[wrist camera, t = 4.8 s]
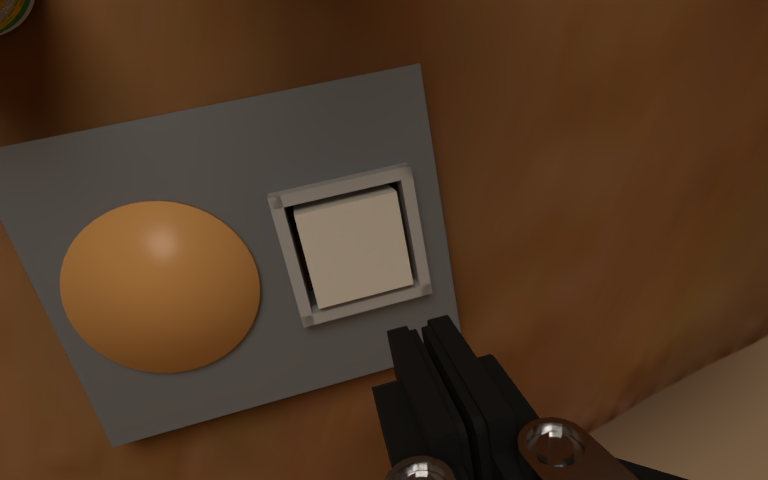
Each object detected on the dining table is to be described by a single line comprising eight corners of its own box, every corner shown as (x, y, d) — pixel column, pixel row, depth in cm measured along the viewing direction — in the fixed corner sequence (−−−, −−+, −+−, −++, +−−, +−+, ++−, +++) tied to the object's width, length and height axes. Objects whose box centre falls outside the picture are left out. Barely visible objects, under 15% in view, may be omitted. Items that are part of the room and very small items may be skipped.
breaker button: (384, 181, 25) (396, 191, 22) (400, 265, 27) (413, 284, 24) (292, 202, 24) (293, 215, 22) (315, 287, 26) (318, 309, 23)
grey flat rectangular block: (409, 65, 24) (426, 62, 21) (451, 331, 29) (469, 356, 27) (-5, 148, 22) (-48, 156, 19) (124, 422, 27) (105, 461, 24)
